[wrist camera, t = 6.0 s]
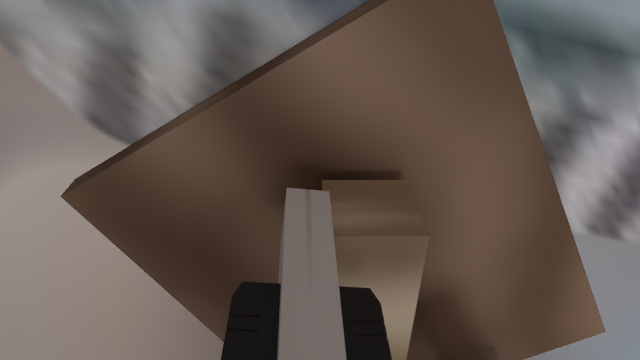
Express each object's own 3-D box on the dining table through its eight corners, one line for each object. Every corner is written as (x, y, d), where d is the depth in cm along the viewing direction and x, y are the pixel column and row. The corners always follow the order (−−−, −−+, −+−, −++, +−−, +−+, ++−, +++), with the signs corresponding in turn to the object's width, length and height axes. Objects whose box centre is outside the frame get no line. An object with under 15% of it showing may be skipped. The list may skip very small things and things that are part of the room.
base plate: (319, 407, 26) (320, 427, 25) (75, 178, 17) (60, 196, 16) (591, 312, 22) (605, 331, 21) (462, -56, 13) (475, -53, 12)
